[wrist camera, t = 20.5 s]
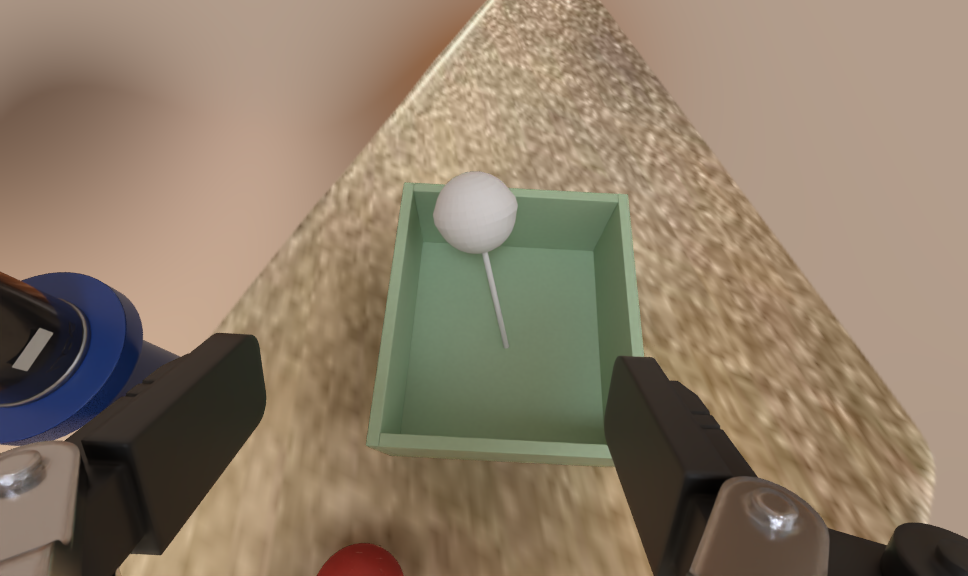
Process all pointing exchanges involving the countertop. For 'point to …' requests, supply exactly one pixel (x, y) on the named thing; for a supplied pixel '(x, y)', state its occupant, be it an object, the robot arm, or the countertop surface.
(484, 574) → the countertop surface
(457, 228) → the lollipop
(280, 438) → the countertop surface
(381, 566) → the kendama
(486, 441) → the bin
